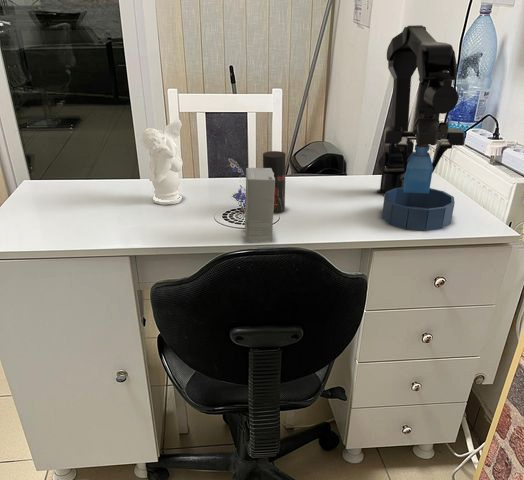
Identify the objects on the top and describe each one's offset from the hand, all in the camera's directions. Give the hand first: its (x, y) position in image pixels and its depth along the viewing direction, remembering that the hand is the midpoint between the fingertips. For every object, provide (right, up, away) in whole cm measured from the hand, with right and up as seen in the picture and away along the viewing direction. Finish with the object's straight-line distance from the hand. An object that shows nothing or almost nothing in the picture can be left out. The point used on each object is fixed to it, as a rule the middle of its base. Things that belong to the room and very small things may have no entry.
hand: (418, 171), depth 137 cm
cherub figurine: (-68, -1, +22) cm, 71 cm away
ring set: (-46, -1, +22) cm, 51 cm away
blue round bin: (+1, -10, +7) cm, 12 cm away
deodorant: (-36, -6, +13) cm, 39 cm away
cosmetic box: (-40, -17, -2) cm, 44 cm away
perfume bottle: (0, -4, +3) cm, 5 cm away
